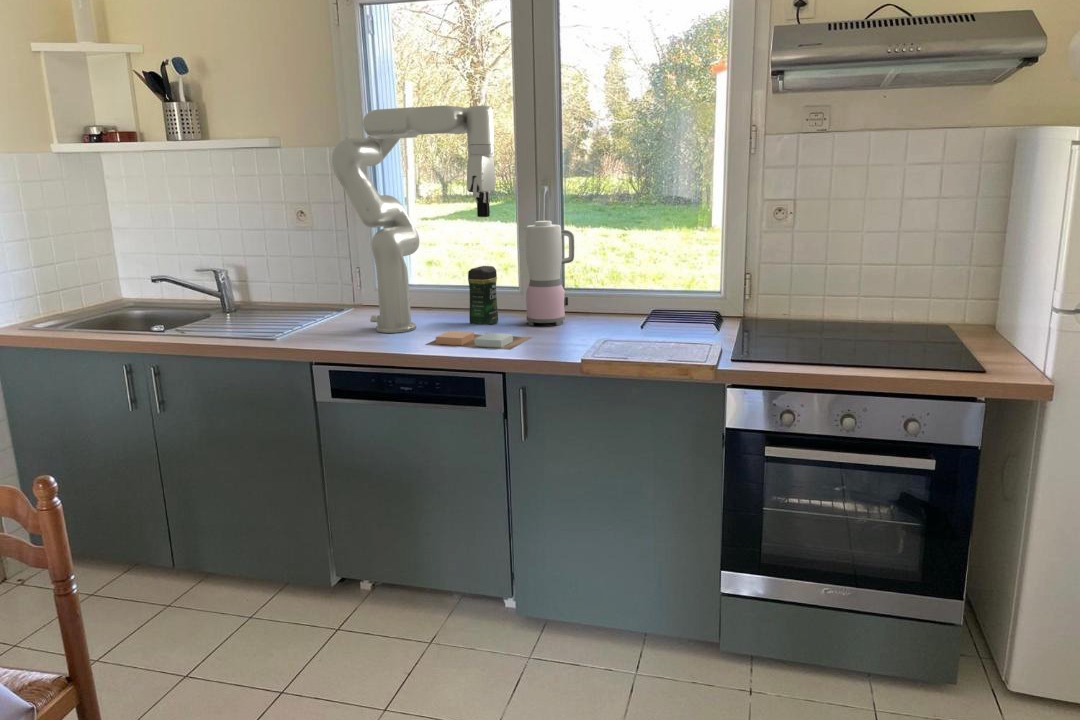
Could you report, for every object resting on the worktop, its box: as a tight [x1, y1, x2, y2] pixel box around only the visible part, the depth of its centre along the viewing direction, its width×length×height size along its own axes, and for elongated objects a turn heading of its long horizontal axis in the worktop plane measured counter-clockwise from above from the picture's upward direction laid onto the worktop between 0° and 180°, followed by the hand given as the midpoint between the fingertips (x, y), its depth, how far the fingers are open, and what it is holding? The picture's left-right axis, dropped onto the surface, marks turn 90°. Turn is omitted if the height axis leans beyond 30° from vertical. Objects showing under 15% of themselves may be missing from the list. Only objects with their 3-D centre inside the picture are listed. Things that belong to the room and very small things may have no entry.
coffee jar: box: [467, 265, 499, 326], centre depth 258 cm, size 10×8×19 cm
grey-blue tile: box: [475, 332, 514, 348], centre depth 226 cm, size 8×2×8 cm
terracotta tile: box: [435, 330, 475, 345], centre depth 231 cm, size 8×2×8 cm
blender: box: [522, 220, 575, 326], centre depth 256 cm, size 16×12×32 cm
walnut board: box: [425, 333, 533, 350], centre depth 232 cm, size 26×16×1 cm, turn 69°
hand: (483, 216), depth 236 cm, fingers closed
